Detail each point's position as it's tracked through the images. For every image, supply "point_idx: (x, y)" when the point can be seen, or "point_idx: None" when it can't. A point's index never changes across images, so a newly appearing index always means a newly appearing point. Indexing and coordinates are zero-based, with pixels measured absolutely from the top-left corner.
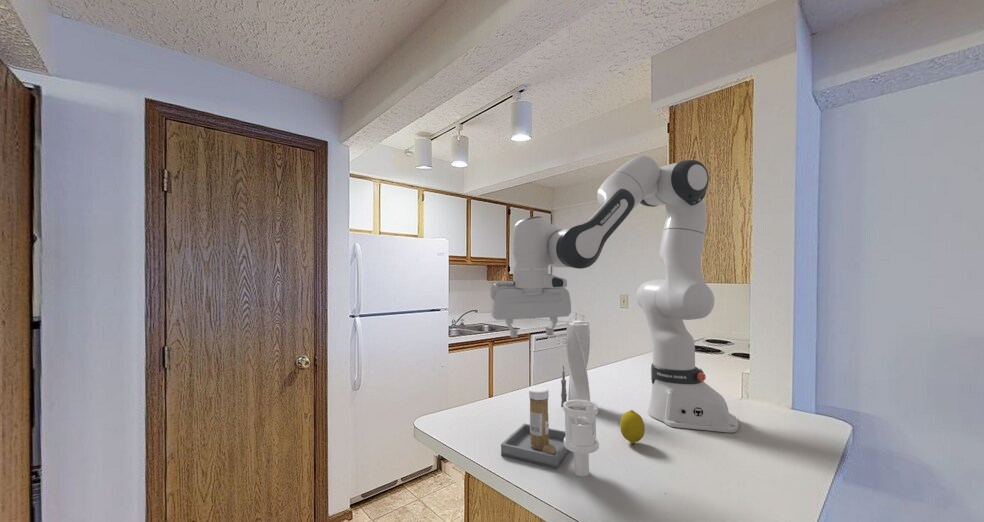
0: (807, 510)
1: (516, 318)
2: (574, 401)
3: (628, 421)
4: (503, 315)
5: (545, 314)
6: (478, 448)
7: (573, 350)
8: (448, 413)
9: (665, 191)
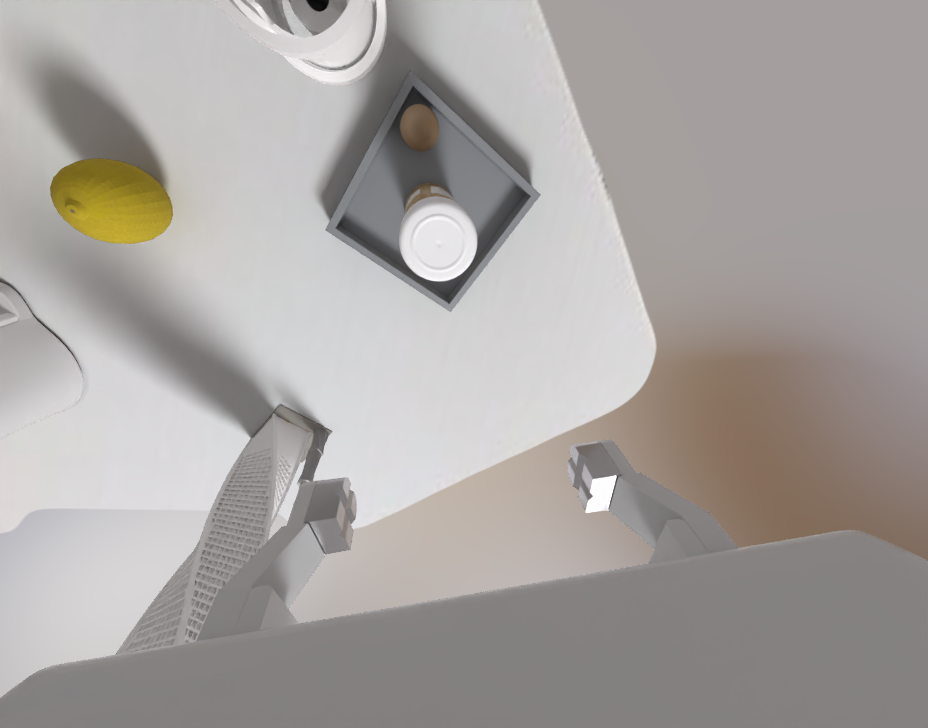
0: None
1: (675, 560)
2: (300, 39)
3: (112, 180)
4: (850, 575)
5: (336, 654)
6: (572, 239)
7: (232, 569)
8: (585, 415)
9: None
